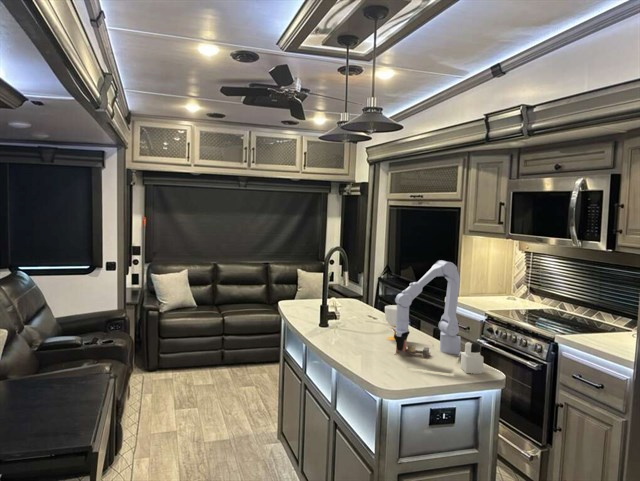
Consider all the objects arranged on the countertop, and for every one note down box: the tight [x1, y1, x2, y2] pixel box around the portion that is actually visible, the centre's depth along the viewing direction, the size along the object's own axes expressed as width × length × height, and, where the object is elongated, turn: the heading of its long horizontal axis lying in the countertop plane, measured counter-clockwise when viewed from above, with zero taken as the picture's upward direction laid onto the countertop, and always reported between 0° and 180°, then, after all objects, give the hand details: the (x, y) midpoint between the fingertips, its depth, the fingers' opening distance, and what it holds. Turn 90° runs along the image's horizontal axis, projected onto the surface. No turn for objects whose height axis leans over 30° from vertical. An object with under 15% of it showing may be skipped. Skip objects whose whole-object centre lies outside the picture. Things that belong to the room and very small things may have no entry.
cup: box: [384, 304, 397, 341], centre depth 246 cm, size 12×12×17 cm
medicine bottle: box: [460, 341, 484, 375], centre depth 198 cm, size 7×7×12 cm
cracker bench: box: [394, 347, 431, 360], centre depth 217 cm, size 15×11×4 cm
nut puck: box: [406, 345, 416, 353], centre depth 217 cm, size 4×4×3 cm
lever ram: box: [395, 339, 408, 353], centre depth 219 cm, size 4×4×6 cm
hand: (401, 348), depth 219 cm, fingers open, 6 cm apart
